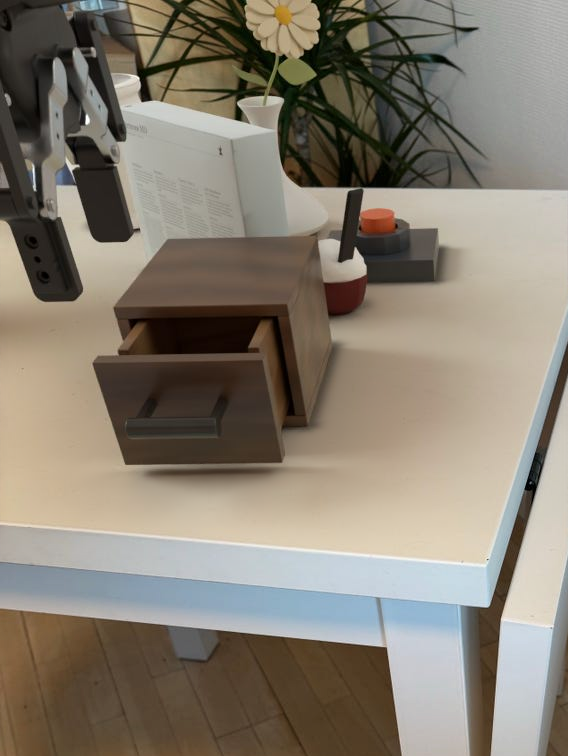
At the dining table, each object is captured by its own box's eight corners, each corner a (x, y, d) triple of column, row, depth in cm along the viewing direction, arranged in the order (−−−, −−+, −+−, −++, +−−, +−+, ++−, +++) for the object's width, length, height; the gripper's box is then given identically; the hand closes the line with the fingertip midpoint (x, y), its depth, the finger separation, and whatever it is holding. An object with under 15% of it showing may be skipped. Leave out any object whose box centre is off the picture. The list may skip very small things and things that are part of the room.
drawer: (271, 495, 63) (249, 389, 57) (106, 497, 63) (69, 392, 58) (310, 378, 76) (295, 284, 71) (174, 380, 76) (149, 287, 71)
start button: (359, 237, 94) (357, 219, 93) (363, 225, 97) (361, 208, 96) (394, 236, 94) (392, 218, 93) (396, 225, 97) (395, 207, 96)
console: (320, 283, 94) (314, 244, 92) (333, 250, 102) (328, 213, 99) (434, 281, 94) (432, 241, 92) (439, 248, 102) (437, 210, 99)
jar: (187, 210, 114) (156, 72, 104) (146, 237, 107) (109, 91, 97) (111, 206, 116) (74, 70, 106) (67, 232, 109) (22, 89, 99)
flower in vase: (234, 256, 101) (180, -18, 85) (231, 224, 110) (181, -31, 93) (350, 244, 103) (319, -26, 87) (338, 214, 112) (308, -38, 95)
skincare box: (305, 307, 90) (278, 128, 79) (260, 324, 87) (225, 140, 76) (191, 258, 101) (154, 96, 90) (148, 272, 98) (104, 105, 88)
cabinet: (307, 426, 72) (287, 303, 65) (148, 428, 72) (112, 307, 66) (332, 346, 83) (317, 235, 76) (194, 349, 83) (167, 238, 77)
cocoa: (301, 296, 92) (281, 168, 84) (361, 288, 93) (347, 160, 85) (316, 333, 85) (296, 196, 77) (381, 323, 86) (368, 188, 78)
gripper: (-49, -140, 42) (66, 226, 53) (-230, -131, 31) (-40, 324, 42) (110, -145, 42) (193, 223, 53) (-18, -138, 31) (119, 321, 42)
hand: (89, 267), depth 48 cm, fingers open, 8 cm apart
